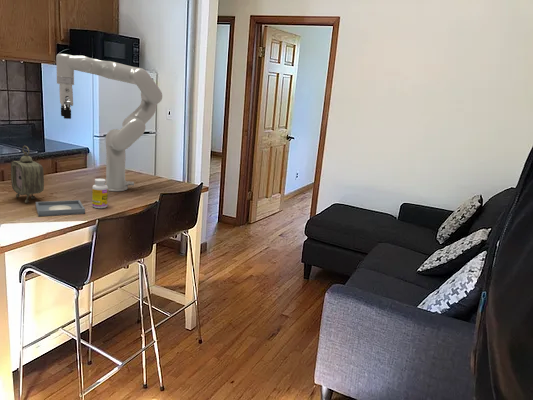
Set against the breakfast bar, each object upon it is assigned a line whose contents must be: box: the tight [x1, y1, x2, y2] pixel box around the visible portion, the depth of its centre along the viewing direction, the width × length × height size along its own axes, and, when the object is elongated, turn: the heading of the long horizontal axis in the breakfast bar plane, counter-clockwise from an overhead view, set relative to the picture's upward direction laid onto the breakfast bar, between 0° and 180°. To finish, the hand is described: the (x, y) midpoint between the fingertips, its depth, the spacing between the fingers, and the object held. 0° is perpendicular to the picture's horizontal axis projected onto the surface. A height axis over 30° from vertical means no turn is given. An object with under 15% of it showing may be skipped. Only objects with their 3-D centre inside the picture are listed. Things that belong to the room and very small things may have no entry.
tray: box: [35, 199, 86, 217], centre depth 193 cm, size 18×14×2 cm
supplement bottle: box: [91, 178, 109, 209], centre depth 202 cm, size 7×7×13 cm
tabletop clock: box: [10, 145, 45, 204], centre depth 200 cm, size 14×9×25 cm, turn 48°
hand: (66, 117), depth 214 cm, fingers open, 9 cm apart
